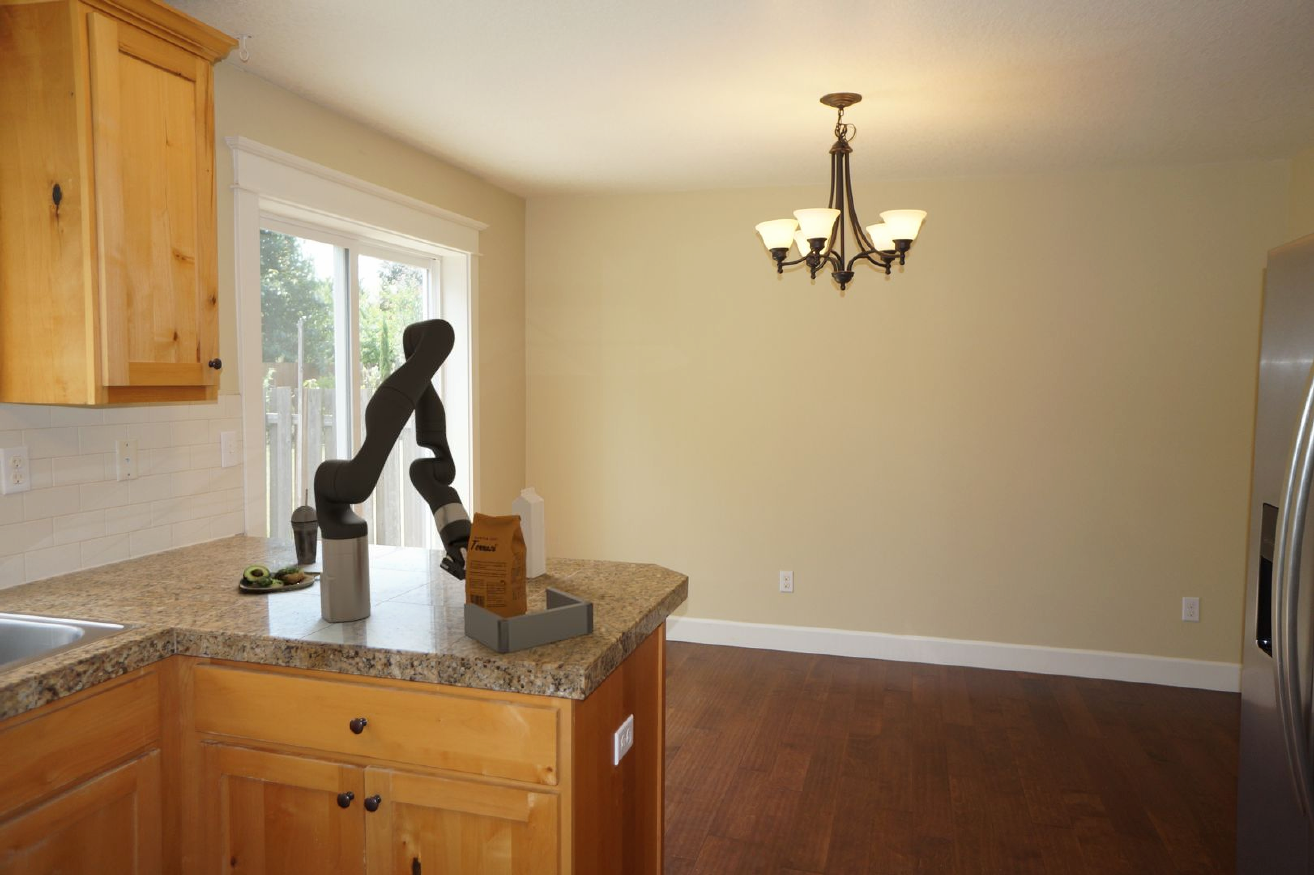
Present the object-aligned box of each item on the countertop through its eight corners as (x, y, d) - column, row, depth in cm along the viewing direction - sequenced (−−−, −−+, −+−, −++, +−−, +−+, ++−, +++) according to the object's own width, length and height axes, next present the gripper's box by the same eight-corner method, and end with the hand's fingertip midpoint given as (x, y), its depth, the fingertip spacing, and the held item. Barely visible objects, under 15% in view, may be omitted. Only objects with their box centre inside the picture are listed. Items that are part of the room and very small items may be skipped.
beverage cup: (286, 564, 230) (283, 490, 228) (304, 559, 237) (301, 487, 235) (308, 566, 227) (305, 491, 226) (326, 560, 234) (324, 488, 233)
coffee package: (484, 608, 186) (482, 508, 184) (534, 614, 181) (532, 511, 179) (457, 621, 177) (454, 515, 175) (509, 627, 172) (506, 519, 170)
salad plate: (322, 572, 222) (321, 555, 221) (328, 588, 206) (328, 569, 205) (239, 581, 213) (238, 563, 213) (239, 598, 197) (238, 578, 197)
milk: (512, 576, 215) (510, 489, 213) (526, 571, 220) (524, 486, 218) (533, 578, 212) (530, 490, 210) (546, 573, 218) (544, 487, 216)
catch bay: (501, 654, 156) (500, 621, 155) (464, 633, 168) (464, 603, 167) (593, 632, 168) (593, 602, 167) (552, 615, 180) (552, 587, 180)
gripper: (431, 521, 186) (457, 588, 178) (487, 514, 194) (514, 577, 186) (422, 541, 191) (447, 607, 182) (477, 534, 199) (503, 596, 190)
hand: (481, 592), depth 184 cm, fingers closed
